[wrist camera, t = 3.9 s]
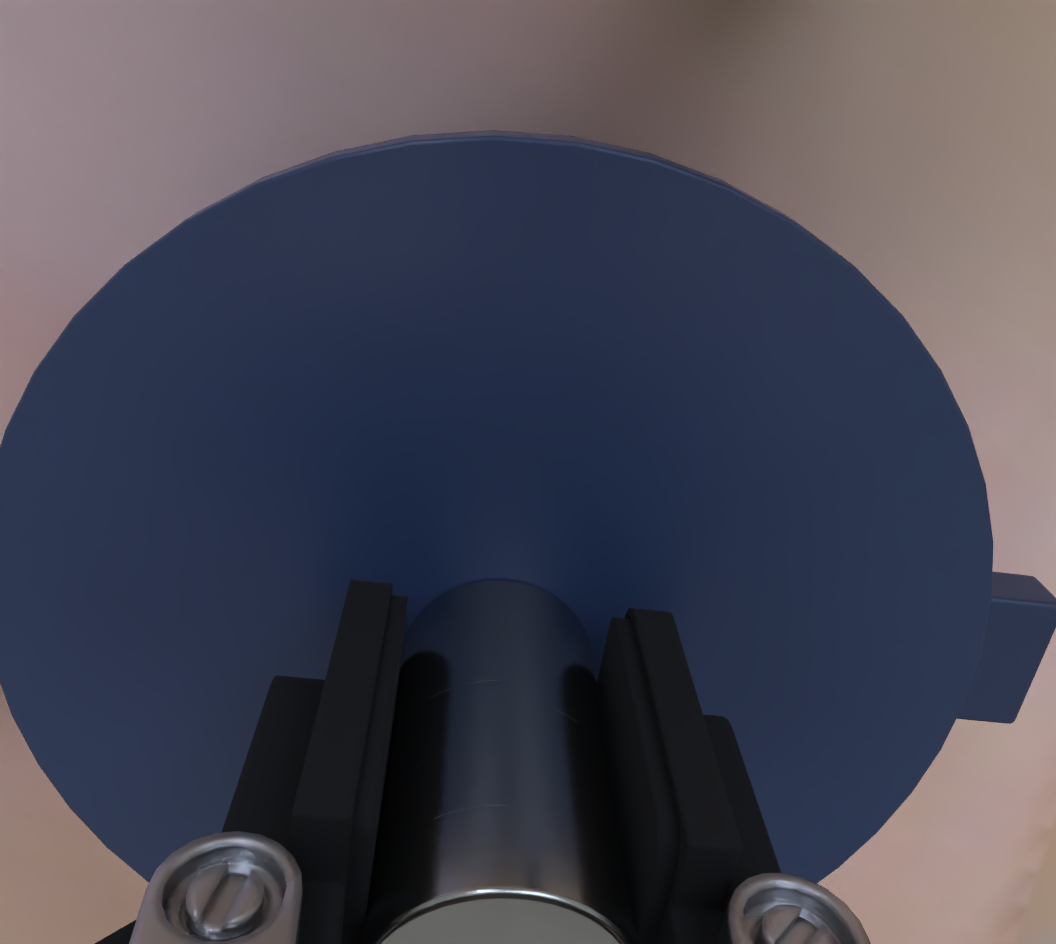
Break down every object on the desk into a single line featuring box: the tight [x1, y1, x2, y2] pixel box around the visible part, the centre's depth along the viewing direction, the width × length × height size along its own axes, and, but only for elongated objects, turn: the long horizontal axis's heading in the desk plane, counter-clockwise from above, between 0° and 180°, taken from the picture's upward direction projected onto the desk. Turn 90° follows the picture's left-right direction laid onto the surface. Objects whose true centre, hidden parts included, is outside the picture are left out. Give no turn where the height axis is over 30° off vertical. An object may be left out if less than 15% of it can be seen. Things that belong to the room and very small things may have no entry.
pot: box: [956, 572, 1056, 724], centre depth 18 cm, size 13×18×8 cm
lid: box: [0, 130, 993, 944], centre depth 11 cm, size 14×14×6 cm
